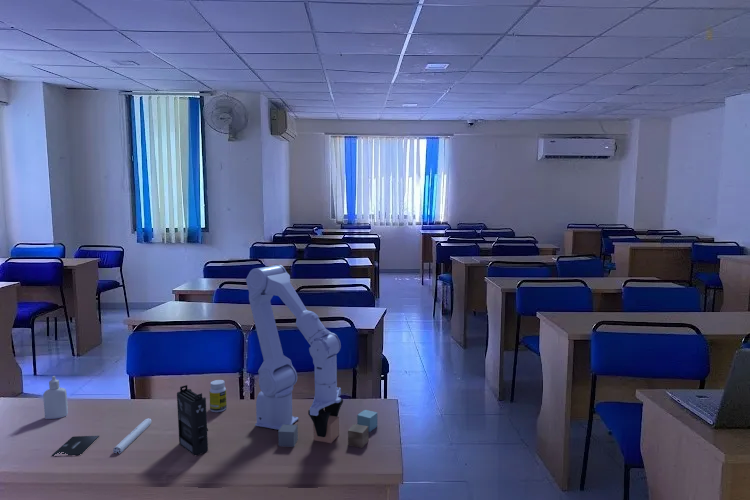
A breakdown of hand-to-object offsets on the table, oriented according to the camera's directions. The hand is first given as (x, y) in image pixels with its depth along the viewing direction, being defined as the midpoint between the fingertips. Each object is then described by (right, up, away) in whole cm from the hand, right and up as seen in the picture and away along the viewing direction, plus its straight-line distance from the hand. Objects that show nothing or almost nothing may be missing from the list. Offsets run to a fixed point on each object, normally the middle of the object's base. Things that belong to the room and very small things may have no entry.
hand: (326, 431), depth 136 cm
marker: (-51, -2, +1) cm, 51 cm away
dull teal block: (+11, -1, +6) cm, 12 cm away
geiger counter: (-33, -3, -5) cm, 33 cm away
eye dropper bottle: (-79, -1, +14) cm, 80 cm away
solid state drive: (-63, -3, -4) cm, 64 cm away
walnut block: (+8, -2, -3) cm, 9 cm away
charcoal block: (-10, -2, -3) cm, 10 cm away
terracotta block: (0, -2, 0) cm, 2 cm away
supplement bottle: (-34, 0, +18) cm, 38 cm away
